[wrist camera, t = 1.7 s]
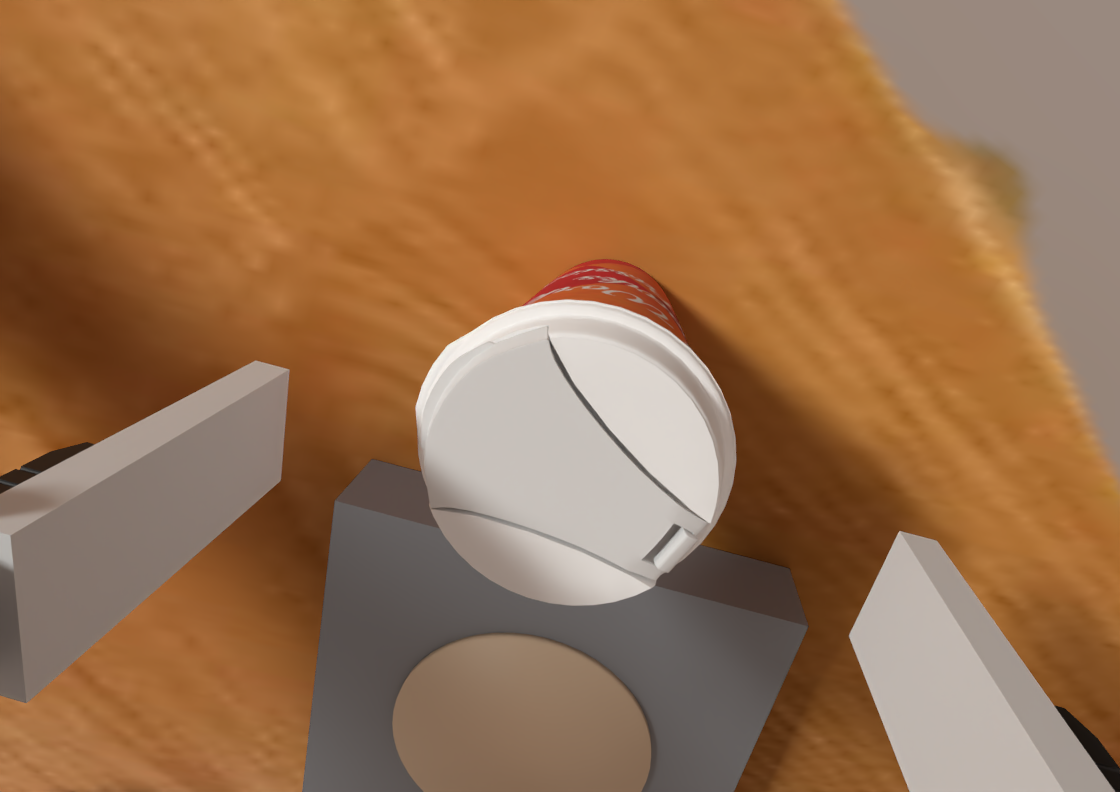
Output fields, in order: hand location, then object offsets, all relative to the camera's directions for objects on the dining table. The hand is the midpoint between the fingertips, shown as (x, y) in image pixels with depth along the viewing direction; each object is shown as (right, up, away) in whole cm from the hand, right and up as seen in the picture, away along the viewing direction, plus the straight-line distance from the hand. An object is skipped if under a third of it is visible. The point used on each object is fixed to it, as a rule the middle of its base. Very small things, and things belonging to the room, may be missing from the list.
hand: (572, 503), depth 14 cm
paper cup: (+2, +5, +14) cm, 15 cm away
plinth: (-2, -12, +21) cm, 24 cm away
